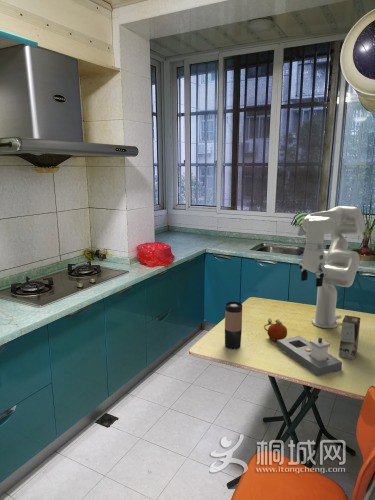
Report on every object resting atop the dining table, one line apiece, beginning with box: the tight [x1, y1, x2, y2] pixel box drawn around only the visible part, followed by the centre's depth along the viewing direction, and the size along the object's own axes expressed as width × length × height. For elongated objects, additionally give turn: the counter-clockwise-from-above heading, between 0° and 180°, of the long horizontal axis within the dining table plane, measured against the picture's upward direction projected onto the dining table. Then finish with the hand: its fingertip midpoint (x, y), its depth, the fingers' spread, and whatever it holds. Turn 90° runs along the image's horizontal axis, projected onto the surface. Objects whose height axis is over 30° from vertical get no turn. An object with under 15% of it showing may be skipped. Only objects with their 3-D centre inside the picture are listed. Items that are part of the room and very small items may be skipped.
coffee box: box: [338, 314, 361, 360], centre depth 157 cm, size 9×6×16 cm
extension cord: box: [263, 317, 288, 332], centre depth 186 cm, size 12×16×2 cm
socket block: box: [276, 335, 343, 377], centre depth 155 cm, size 12×26×4 cm, turn 23°
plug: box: [309, 337, 331, 362], centre depth 148 cm, size 6×6×12 cm
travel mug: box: [224, 301, 243, 350], centre depth 164 cm, size 8×8×20 cm
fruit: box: [266, 322, 288, 342], centre depth 172 cm, size 9×9×8 cm
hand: (311, 283), depth 165 cm, fingers open, 9 cm apart
